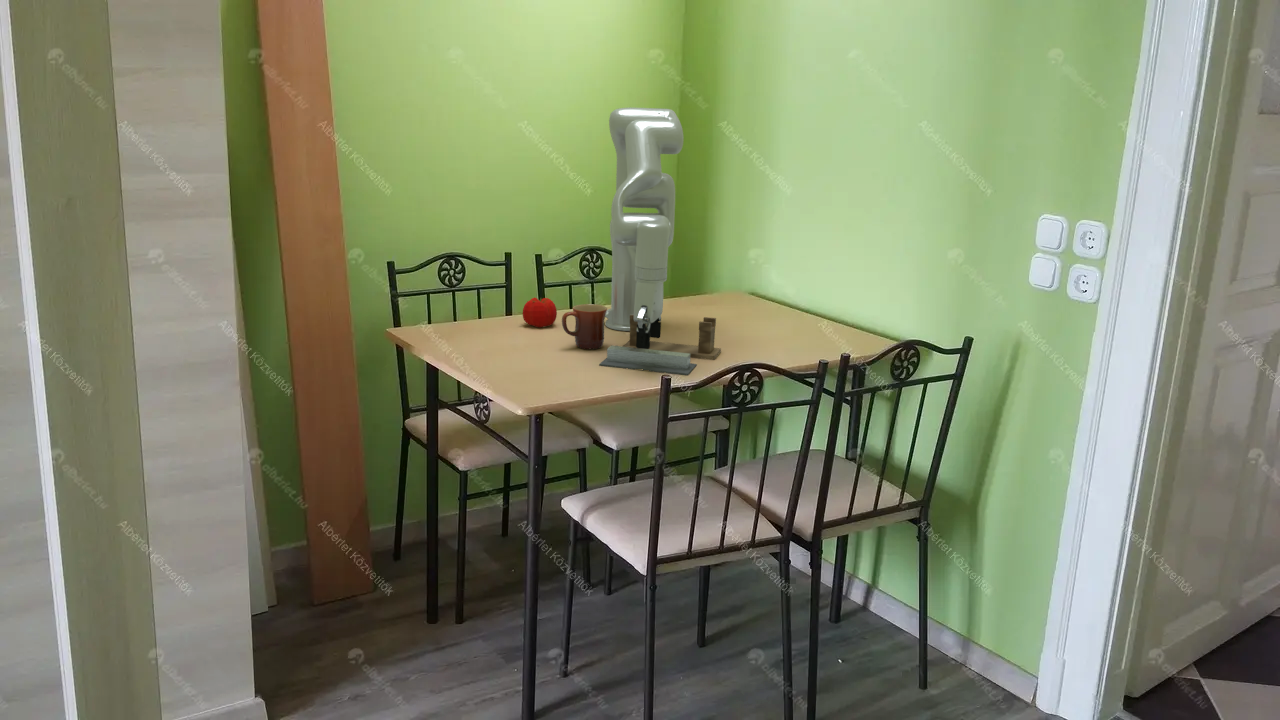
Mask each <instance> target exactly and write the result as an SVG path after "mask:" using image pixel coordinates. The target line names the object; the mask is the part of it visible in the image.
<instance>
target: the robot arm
mask: <svg viewBox="0 0 1280 720" xmlns="http://www.w3.org/2000/svg"><path fill="white" fill-rule="evenodd" d="M608 122H609V123H608V125H609V127H608V128H609V133H610V137H611V141H612V143H613V146H614V149H615V153H616V177H615V178H616V179H615V180H616V181H615V183H616V184H615V188H616V190H615V194H614V195H613V198H612V202H611V209H610V210H611V214H610V215H611V219H610V222H609V234H610V243H611V254H612V255H611V262H612V263H611V264H612V265H611V267H612V268H611V269H612V270H611V304H610V305H611V306H610V308H607V312H606V315H605V318H606V320H604V326H606V327H607V328H608V329H611V330H615V331H621V332H623V331H624V332H630V315H634V317H633V319H634V321H635V322H637V323H638V324H637V336H636V347H637V348H642V349H649V348H650V341H651V338H654V339H655V338H656V339H660V338H661V328H662V322H661V321H662V317H661V316H662V314H663V307H664V282H667V279H668V259H669V258H668V256H669V247H670V246H671V245H672V243H673V240H674V236H675V212H676V185H675V181H674V178H673V177H672V176H671V175H670V174H668V173H665V172H663V171H662V170H663V169H662V161H661V155H678V154H680V152H681V151H682V149H683V146H684V139H685V137H684V130H683V126H682V124H681V121H680V119H679V117H678V116H677V114H676V112H675V111H674V110H673V109H671V108H655V107H654V108H652V107H622V108H621V107H620V108H616V109H614V110H613V111H611V112H610V115H609V119H608ZM624 208H632V209H655V210H657V212H624ZM645 319H647V320H645ZM645 324H647V326H646V325H645Z"/></svg>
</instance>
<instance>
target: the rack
mask: <svg viewBox="0 0 1280 720" xmlns="http://www.w3.org/2000/svg"><path fill="white" fill-rule="evenodd" d="M633 317H634V315H630V331H629V340H628V341H627V342H626V343H624V344H623V345H621V346H622V347H632V348H637V347H636V336H637V324H638V323H637V322H635V321H634V319H633ZM645 320H648V319H645ZM702 320H703V321H699V322H698V330H699V331H698V344H697V345H692V344H691V345H690V344H682V343H673V342H663V341H654V340H653V341H652V340H650V348H649V349H651V350H660V351H670V352H679V353H689V354H691V356H690V359H691V358H692V359H701V360H713V361H715V360H716V358H718V356H719V355H720V354H721V352H722V351H721V350H722V348H721V347H715V339H716V338H715V337H716V336H715V335H716V324H717V323H716V322H717V318H716V317H708V316H707V317H706V316H705V317H703V319H702ZM645 325H646V326H647V324H645ZM641 349H642V348H641Z"/></svg>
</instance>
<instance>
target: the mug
mask: <svg viewBox="0 0 1280 720" xmlns="http://www.w3.org/2000/svg"><path fill="white" fill-rule="evenodd" d="M572 310H573V311H568V312H567V311H566V312H565V313H564V314H563V315H562V317H561V325H562V329H563V331H564V332H565V333H566V334H567V335H569V336H572V337H574V342H575V345H576V346H577V348H579V349H581V350H582V349H583V350H590V351H591V350H598V349H600V348H602V347H603V346H604V342H605V341H604V340H605V318H606V317H605V315H606V312H607V310H608V307H607V306H606V305H601V304H592V303H586V304H585V303H583V304H577V305H574V306H573V307H572ZM570 316H572V317H574V319H575V326H574V330H573V331H572V330H569V328H568V325H567V318H568V317H570Z"/></svg>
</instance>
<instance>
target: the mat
mask: <svg viewBox="0 0 1280 720" xmlns="http://www.w3.org/2000/svg"><path fill="white" fill-rule="evenodd" d="M598 366H599V367H600V366H601V367H610V368H617V369H626V368H628V369H627V370H635V369H643V370H642V371H644V370H649V371H648V372H653V371H654V372H655V373H663V374H672V375H680V376H689V375H690V374H691V373H692V371H693V370H694V369H695V368H696V367H697V363H691V362H690V367H689V368H688V369H687V370H683V369H674V368H665V367H655V366H646V365H637V364H628V363H619V362H610V361H607V357H606V358H604V360H602V361H601V362H600V363H599V364H598ZM664 372H666V373H664Z"/></svg>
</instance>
